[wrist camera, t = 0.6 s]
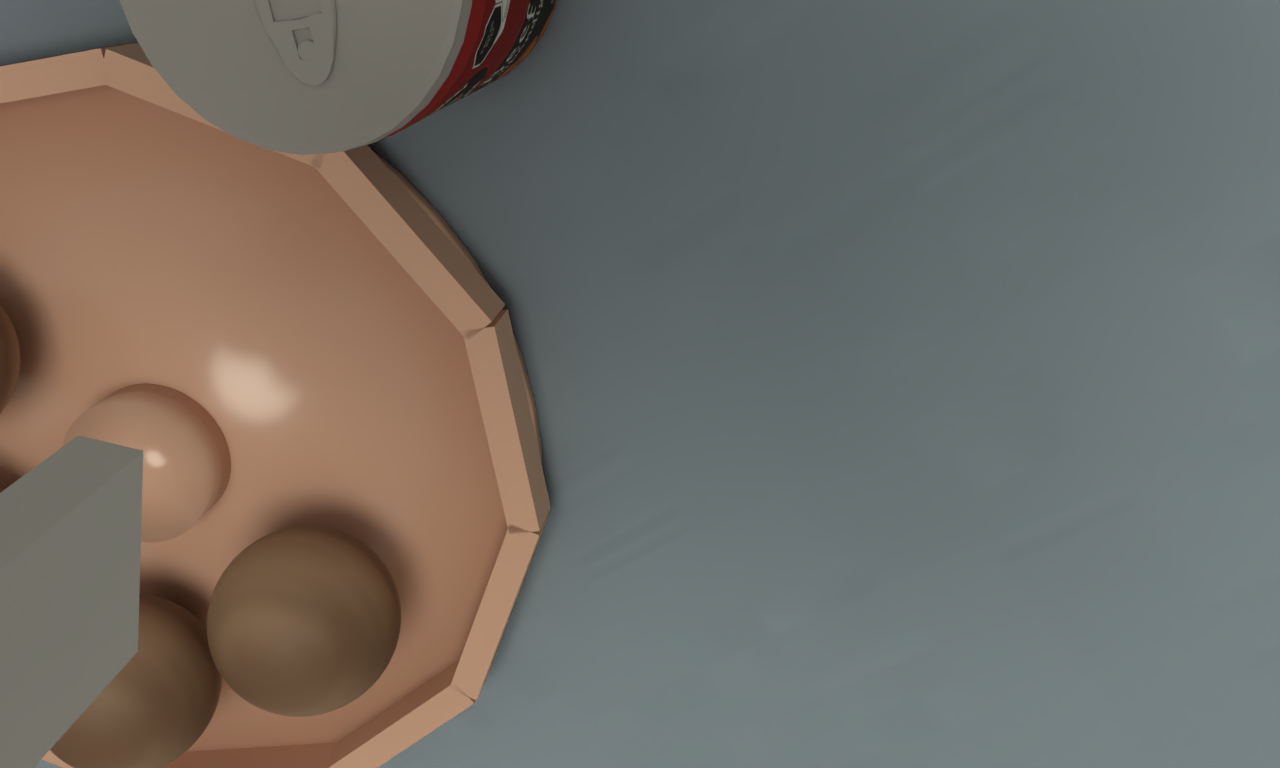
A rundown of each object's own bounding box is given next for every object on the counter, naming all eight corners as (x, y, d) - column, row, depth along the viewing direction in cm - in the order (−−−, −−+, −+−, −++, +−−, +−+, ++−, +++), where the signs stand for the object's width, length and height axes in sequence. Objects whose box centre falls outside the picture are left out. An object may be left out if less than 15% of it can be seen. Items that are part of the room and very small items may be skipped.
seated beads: (-188, 259, 40) (-349, 314, 35) (321, 181, 37) (233, 227, 31) (1, 718, 46) (-110, 828, 41) (454, 687, 43) (399, 802, 37)
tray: (-305, 122, 40) (-375, 135, 37) (445, -15, 35) (419, -11, 33) (-26, 774, 48) (-68, 817, 46) (607, 736, 44) (595, 781, 41)
